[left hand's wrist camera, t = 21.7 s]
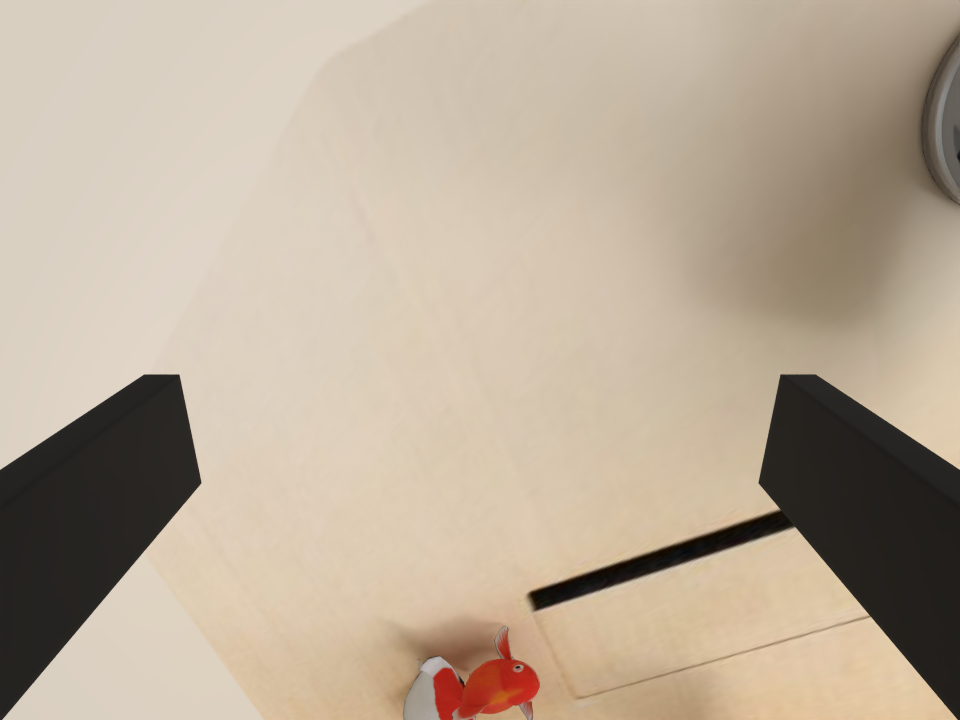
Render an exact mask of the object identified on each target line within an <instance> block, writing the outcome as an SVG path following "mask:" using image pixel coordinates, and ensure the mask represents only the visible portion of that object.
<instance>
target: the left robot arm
mask: <svg viewBox="0 0 960 720" xmlns="http://www.w3.org/2000/svg"><path fill="white" fill-rule="evenodd" d="M922 144H923V151H924V156H925V160H926V163H927V166H928V168H929V171H930V173H931V175H932V177H933V179H934V180H935V182H936V183H937V184H938V186H939V187H940V188H941V189H942V191H943V192H944V193H945V194H946V195H948V196H949V197H950V198H951V199H952V200H954V201H955V202H957V203H959V204H960V35H959V36H958V38H957V39H956V40H955V42H954V43H953V45H952V46H951V47H950V49H949V50H948V52H947V54H946V55H945V57H944V58H943V60H942V62H941V64H940V66H939V68H938V70H937V72H936V74H935V76H934V79H933V81H932V83H931V86H930V89H929V92H928V95H927V99H926V103H925V107H924V113H923V121H922ZM200 484H201V478H200V473H199V468H198V463H197V458H196V454H195V449H194V444H193V439H192V434H191V429H190V424H189V419H188V414H187V409H186V405H185V400H184V395H183V390H182V385H181V380H180V375H143V376H141V377H140V378H138V379H137V380H135V381H134V382H132V383H131V384H129V385H128V386H126V387H125V388H123V389H122V390H120V391H119V392H117V393H116V394H114V395H113V396H111V397H110V398H108V399H107V400H105V401H104V402H102V403H101V404H99V405H98V406H96V407H95V408H93V409H91V410H90V411H88V412H87V413H86V414H84V415H82V416H81V417H79V418H78V419H76V420H75V421H73V422H72V423H70V424H69V425H67V426H66V427H64V428H63V429H61V430H60V431H58V432H57V433H55V434H54V435H52V436H51V437H49V438H48V439H46V440H45V441H43V442H42V443H40V444H39V445H37V446H36V447H34V448H33V449H31V450H30V451H28V452H27V453H25V454H24V455H22V456H21V457H19V458H18V459H16V460H15V461H13V462H11V463H10V464H8V465H7V466H5V467H4V468H2V469H1V470H0V720H2V719H3V718H4V717H5V716H6V715H7V713H8V712H9V711H10V710H11V709H12V708H13V706H14V705H15V704H16V703H17V702H18V700H19V699H20V698H21V697H22V696H23V694H24V693H25V692H26V691H27V690H28V689H29V687H30V686H31V685H32V684H33V683H34V681H35V680H36V679H37V678H38V677H39V675H40V674H41V673H42V672H43V671H44V670H45V668H46V667H47V666H48V665H49V664H50V662H51V661H52V660H53V659H54V658H55V656H56V655H57V654H58V653H59V652H60V651H61V649H62V648H63V647H64V646H65V645H66V643H67V642H68V641H69V640H70V639H71V637H72V636H73V635H74V634H75V633H76V631H77V630H78V629H79V628H80V627H81V626H82V624H83V623H84V622H85V621H86V620H87V618H88V617H89V616H90V615H91V614H92V613H93V611H94V610H95V609H96V608H97V607H98V605H99V604H100V603H101V602H102V601H103V599H104V598H105V597H106V596H107V595H108V594H109V592H110V591H111V590H112V589H113V588H114V586H115V585H116V584H117V583H118V582H119V580H120V579H121V578H122V577H123V576H124V574H125V573H126V572H127V571H128V570H129V569H130V567H131V566H132V565H133V564H134V563H135V561H136V560H137V559H138V558H139V557H140V556H141V554H142V553H143V552H144V551H145V550H146V548H147V547H148V546H149V545H150V544H151V542H152V541H153V540H154V539H155V538H156V537H157V535H158V534H159V533H160V532H161V531H162V529H163V528H164V527H165V526H166V525H167V523H168V522H169V521H170V520H171V519H172V518H173V516H174V515H175V514H176V513H177V512H178V510H179V509H180V508H181V507H182V506H183V504H184V503H185V502H186V501H187V500H188V499H189V497H190V496H191V495H192V494H193V493H194V491H195V490H196V489H197V488H198V487H199V485H200ZM759 484H760V485H761V487H762V488H763V489H764V490H765V491H766V493H767V494H768V495H769V496H770V497H771V499H772V500H773V501H774V502H775V503H776V504H777V506H778V507H779V508H780V509H781V510H782V512H783V513H784V514H785V515H786V516H787V518H788V519H789V520H790V521H791V522H792V523H793V525H794V526H795V527H796V528H797V529H798V531H799V532H800V533H801V534H802V535H803V537H804V538H805V539H806V540H807V541H808V542H809V544H810V545H811V546H812V547H813V548H814V550H815V551H816V552H817V553H818V554H819V556H820V557H821V558H822V559H823V560H824V561H825V563H826V564H827V565H828V566H829V567H830V569H831V570H832V571H833V572H834V573H835V575H836V576H837V577H838V578H839V579H840V580H841V582H842V583H843V584H844V585H845V586H846V588H847V589H848V590H849V591H850V592H851V594H852V595H853V596H854V597H855V598H856V599H857V601H858V602H859V603H860V604H861V605H862V607H863V608H864V609H865V610H866V611H867V613H868V614H869V615H870V616H871V617H872V618H873V620H874V621H875V622H876V623H877V624H878V626H879V627H880V628H881V629H882V630H883V632H884V633H885V634H886V635H887V636H888V637H889V639H890V640H891V641H892V642H893V643H894V645H895V646H896V647H897V648H898V649H899V651H900V652H901V653H902V654H903V655H904V656H905V658H906V659H907V660H908V661H909V662H910V664H911V665H912V666H913V667H914V668H915V670H916V671H917V672H918V673H919V674H920V675H921V677H922V678H923V679H924V680H925V681H926V683H927V684H928V685H929V686H930V687H931V689H932V690H933V691H934V692H935V693H936V694H937V696H938V697H939V698H940V699H941V700H942V702H943V703H944V704H945V705H946V706H947V708H948V709H949V710H950V711H951V712H952V713H953V715H954V716H955V717H956V718H957V719H958V720H960V470H959V469H958V468H956V467H955V466H953V465H952V464H950V463H949V462H947V461H946V460H944V459H943V458H941V457H940V456H938V455H936V454H935V453H933V452H932V451H930V450H929V449H927V448H926V447H924V446H923V445H921V444H920V443H918V442H917V441H915V440H914V439H912V438H911V437H909V436H908V435H906V434H905V433H903V432H902V431H900V430H899V429H897V428H896V427H894V426H893V425H891V424H890V423H888V422H887V421H885V420H884V419H882V418H881V417H879V416H878V415H876V414H875V413H873V412H872V411H870V410H868V409H867V408H865V407H864V406H862V405H861V404H859V403H858V402H856V401H855V400H853V399H852V398H850V397H849V396H847V395H846V394H844V393H843V392H841V391H840V390H838V389H837V388H835V387H834V386H832V385H831V384H829V383H828V382H826V381H825V380H823V379H822V378H820V377H819V376H817V375H780V380H779V385H778V390H777V395H776V400H775V405H774V409H773V414H772V419H771V424H770V429H769V434H768V439H767V444H766V449H765V454H764V458H763V463H762V468H761V473H760V478H759Z"/></svg>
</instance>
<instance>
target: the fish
mask: <svg viewBox="0 0 960 720" xmlns="http://www.w3.org/2000/svg"><path fill="white" fill-rule="evenodd" d="M495 646H496V648H497V651H498V653H499V655H500V657H501V658H502V659H496V660H491V661H487V662H485V663H484V664H482V665H481V666H480V667H478V668H477V669H476V670H475V671H474V672H473V673H472V674H471V673H470V674H469V676H470V677H469V679H468V681H467V683H466V685H464V682H463V681H462V679H461V678H460V677H459V675H458V674H457V673H456V671H455V670H454V669H453V667H452V666H451V665H450V664H449V663H447V662H446V661H445V660H444V659H443V658H441V657H440V656H435V657H431V658H428V659H427V660H426V662H425V663H424V664H423V663H422V661H421V660H419V659H418V667H419V671H421V672H420V674H419V675H418V676H417V678H416V680H415V682H414V683H413V685H412V687H411V689H410V690H409V692H408V694H407V696H406V699H405V703H404V710H403V719H404V720H476V717H475V716H476V715H477V714H479V713H482V714H494V713H499V712H501V711H504V710H507V709H508V708H510V707H511V706H513V705H519V707H520V708H521V710H522V711H523V713H524V715H525V716H526V718H527V719H528V720H532V719H533V710H532V702H531V701H532V700H533V699H534V697H535V695H536V694H537V692H538V690H539V687H540V682H539V678H538V675H537V674H536V672H535V670H534V669H533V668H532V667H530V666H529V665H528V664H526V663H524V662H521V661H517V660H514V657H513V656H511V654H510V649H509V642H508V628H507V627H505V626H503V627H502V628H501V629H500V631H499V632H498V634H497V636H496V637H495Z"/></svg>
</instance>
